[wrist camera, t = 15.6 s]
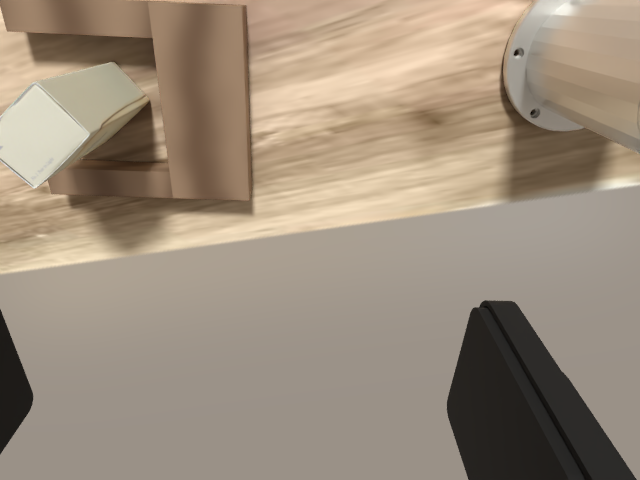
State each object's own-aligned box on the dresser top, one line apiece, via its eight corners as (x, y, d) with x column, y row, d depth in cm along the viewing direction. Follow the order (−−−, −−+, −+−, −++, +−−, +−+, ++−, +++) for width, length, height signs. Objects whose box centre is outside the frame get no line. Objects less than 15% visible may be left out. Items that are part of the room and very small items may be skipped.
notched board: (246, 5, 35) (241, 6, 33) (252, 190, 43) (249, 200, 41) (16, -6, 35) (-4, -7, 32) (65, 183, 42) (51, 194, 40)
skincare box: (107, 142, 40) (34, 194, 30) (66, 103, 39) (-27, 144, 28) (153, 98, 39) (93, 137, 28) (112, 55, 37) (32, 79, 26)
